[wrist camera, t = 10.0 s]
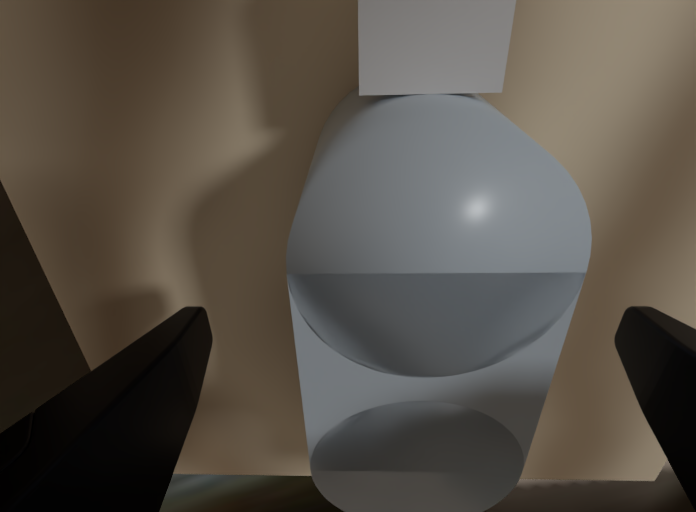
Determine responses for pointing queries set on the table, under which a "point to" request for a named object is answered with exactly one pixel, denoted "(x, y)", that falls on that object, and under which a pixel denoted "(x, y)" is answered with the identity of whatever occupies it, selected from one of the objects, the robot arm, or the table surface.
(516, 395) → the usb stick
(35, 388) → the table surface
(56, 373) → the table surface
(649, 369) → the robot arm
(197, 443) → the birch board
